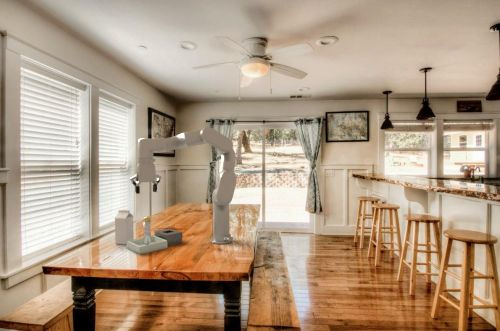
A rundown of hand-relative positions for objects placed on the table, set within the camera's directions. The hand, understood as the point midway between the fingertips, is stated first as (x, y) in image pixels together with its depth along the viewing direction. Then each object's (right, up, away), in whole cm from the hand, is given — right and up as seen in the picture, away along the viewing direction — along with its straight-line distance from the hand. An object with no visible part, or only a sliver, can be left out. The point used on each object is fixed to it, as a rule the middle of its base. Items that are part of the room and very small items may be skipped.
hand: (146, 192), depth 155 cm
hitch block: (+8, -30, +12) cm, 33 cm away
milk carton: (-17, -31, +11) cm, 37 cm away
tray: (0, -30, 0) cm, 30 cm away
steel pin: (0, -29, 0) cm, 29 cm away
